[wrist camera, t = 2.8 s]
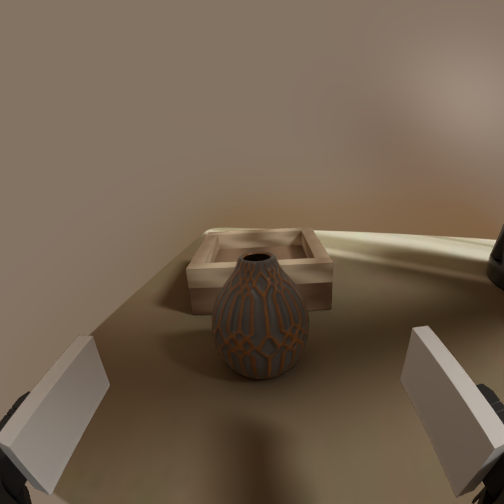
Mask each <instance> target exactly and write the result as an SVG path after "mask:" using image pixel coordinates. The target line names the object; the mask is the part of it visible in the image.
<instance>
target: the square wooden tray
mask: <svg viewBox="0 0 504 504" xmlns="http://www.w3.org/2000/svg"><path fill="white" fill-rule="evenodd" d="M252 251H267V252H271V253H273V254H274V255H275V257H276V259H277V261H278V263H279V265H280V266H281V268H282V269H283V270H284V272H285V273H286V274H287V275H288V276H289V277H290V278H291V279H292V281H293V282H294V283H295V284H296V285H297V287H298V288H299V290H300V291H301V293H302V295H303V297H304V300H305V303H306V306H307V310H308V311H312V310H327V309H331V302H332V281H333V261H332V260H331V258H330V257H329V255H328V253H327V252H326V250H325V249H324V247H323V245H322V244H321V242H320V241H319V239H318V238H317V236H316V234H315V233H314V231H313V230H312V228H288V229H266V230H246V231H226V232H209V233H208V235H207V236H206V238H205V239H204V241H203V242H202V244H201V246H200V247H199V249H198V250H197V252H196V254H195V255H194V257H193V259H192V260H191V262H190V263H189V265H188V267H187V268H186V273H187V280H188V287H189V294H190V301H191V307H192V313H193V315H212V314H213V308H214V304H215V300H216V298H217V295H218V293H219V291H220V290H221V288H222V287H223V285H224V284H225V282H226V281H227V279H228V278H229V277H230V275H231V274H232V272H233V271H234V269H235V267H236V264H237V261H238V258H239V256H241V255H242V254H244V253H247V252H252Z"/></svg>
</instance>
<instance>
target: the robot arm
mask: <svg viewBox="0 0 504 504" xmlns="http://www.w3.org/2000/svg"><path fill="white" fill-rule="evenodd" d="M487 274H488V276H489V277H490V279H491V280H492V281H493V282H494V283H496V284H497V285H498V286H500V287H501V288H503V289H504V224H503V227H502V230H501V232H500V234H499V236H498V239H497V241H496V243H495V245H494V247H493V250H492V252H491V254H490V257H489V262H488V268H487ZM400 381H401V383H402V385H403V387H404V389H405V391H406V393H407V394H408V396H409V398H410V400H411V402H412V404H413V406H414V408H415V410H416V412H417V414H418V416H419V418H420V420H421V422H422V424H423V426H424V428H425V430H426V432H427V434H428V437H429V439H430V441H431V443H432V445H433V447H434V449H435V451H436V454H437V456H438V458H439V460H440V462H441V464H442V467H443V469H444V471H445V473H446V476H447V478H448V480H449V483H450V485H451V487H452V490H453V492H454V494H455V497H456V498H457V497H459V496H461V495H464V494H466V493H468V492H471V491H473V490H474V489H475V488H476V487H477V486H478V485H479V484H480V483H481V481H483V483H484V485H485V487H484V488H483V489H482V490H481V491H480V492H479V494H478V495H477V496H476V497H475V498H474V499H473V501H472V503H473V504H474V503H475V502H476V501H477V500H478V499H479V501H478V504H504V405H503V404H502V402H500V400H499V398H498V397H497V396H496V394H495V393H494V392H493V390H491V389H490V388H488V387H487V386H485V385H484V384H479V385H475V384H474V383H473V381H472V380H471V379H470V377H469V376H468V375H467V373H466V372H465V371H464V370H463V368H462V367H461V366H460V364H459V363H458V362H457V361H456V359H455V358H454V357H453V356H452V354H451V353H450V352H449V351H448V349H447V348H446V347H445V346H444V344H443V343H442V342H441V341H440V339H439V338H438V337H437V336H436V335H435V333H434V332H433V331H432V330H431V329H430V327H429V326H422V327H415V328H412V332H411V337H410V341H409V346H408V350H407V354H406V358H405V362H404V366H403V370H402V373H401V377H400ZM109 387H110V383H109V381H108V378H107V375H106V373H105V370H104V367H103V364H102V362H101V359H100V356H99V353H98V350H97V347H96V344H95V341H94V338H93V336H85V335H78V337H77V338H76V339H75V340H74V341H73V342H72V343H71V345H70V346H69V347H68V348H67V349H66V350H65V351H64V353H63V354H62V355H61V356H60V357H59V358H58V360H57V361H56V362H55V363H54V364H53V366H52V367H51V368H50V369H49V371H48V372H47V373H46V374H45V375H44V376H43V378H42V379H41V380H40V381H39V382H38V384H37V385H36V386H35V387H34V389H33V390H32V391H31V392H27V393H26V394H24V395H23V396H21V397H20V398H19V399H18V400H17V401H16V402H15V404H14V405H13V406H12V409H10V410H9V411H8V413H7V415H5V416H4V418H3V419H2V420H1V422H0V504H32V503H31V499H30V495H29V491H28V489H27V487H26V486H25V483H26V481H27V480H28V481H29V482H30V483H31V484H32V485H33V487H34V488H35V489H37V490H40V491H42V492H44V493H46V494H49V495H52V493H53V491H54V489H55V486H56V484H57V483H58V481H59V479H60V477H61V475H62V473H63V471H64V469H65V467H66V465H67V463H68V461H69V459H70V457H71V455H72V453H73V451H74V450H75V448H76V446H77V444H78V442H79V440H80V438H81V437H82V435H83V433H84V431H85V429H86V427H87V426H88V424H89V422H90V420H91V418H92V417H93V415H94V413H95V411H96V409H97V408H98V406H99V404H100V402H101V401H102V399H103V397H104V395H105V394H106V392H107V390H108V388H109Z"/></svg>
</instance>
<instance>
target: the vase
mask: <svg viewBox="0 0 504 504" xmlns="http://www.w3.org/2000/svg"><path fill="white" fill-rule="evenodd" d="M212 330H213V336H214V340H215V344H216V347H217V349H218V351H219V353H220V355H221V357H222V358H223V360H224V361H225V362H226V364H227V365H228V366H229V367H231V368H232V369H233V370H234V371H236V372H237V373H239V374H242V375H244V376H246V377H249V378H253V379H269V378H273V377H276V376H278V375H281V374H282V373H284V372H286V371H287V370H289V369H290V368H291V367H292V366H293V365H294V364H295V363H296V362H297V361H298V360H299V358H300V356H301V355H302V353H303V351H304V348H305V345H306V342H307V338H308V331H309V316H308V310H307V306H306V303H305V300H304V297H303V295H302V293H301V291H300V290H299V288H298V287H297V285H296V284H295V283H294V282H293V281H292V279H291V278H290V277H289V276H288V275H287V274H286V273H285V272H284V270H283V269H282V268H281V266H280V265H279V263H278V261H277V259H276V257H275V255H274V254H273V253H271V252H267V251H252V252H247V253H244V254H242V255H241V256H239V258H238V261H237V264H236V267H235V269H234V271H233V272H232V274H231V275H230V277H229V278H228V279H227V281H226V282H225V284H224V285H223V287H222V288H221V290H220V291H219V293H218V295H217V298H216V300H215V304H214V308H213V314H212Z"/></svg>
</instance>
